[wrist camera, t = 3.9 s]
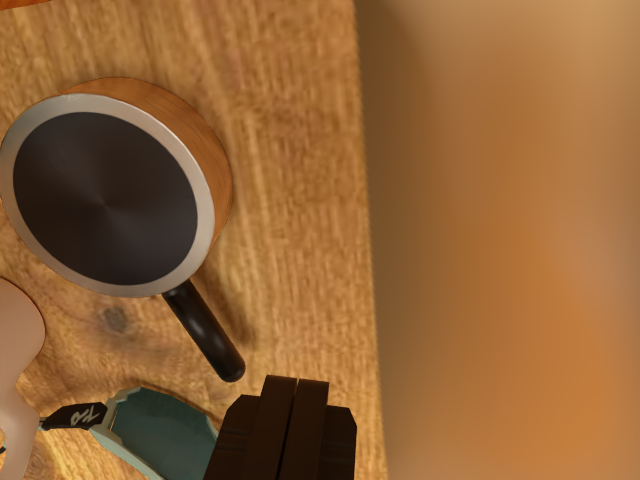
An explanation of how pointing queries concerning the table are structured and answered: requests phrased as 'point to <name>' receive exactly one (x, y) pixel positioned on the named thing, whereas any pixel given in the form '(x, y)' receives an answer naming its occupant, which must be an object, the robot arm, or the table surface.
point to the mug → (17, 376)
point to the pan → (123, 197)
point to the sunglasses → (145, 432)
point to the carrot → (18, 3)
